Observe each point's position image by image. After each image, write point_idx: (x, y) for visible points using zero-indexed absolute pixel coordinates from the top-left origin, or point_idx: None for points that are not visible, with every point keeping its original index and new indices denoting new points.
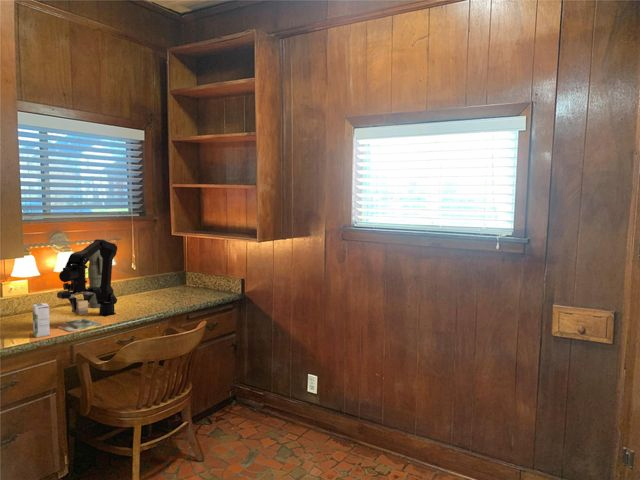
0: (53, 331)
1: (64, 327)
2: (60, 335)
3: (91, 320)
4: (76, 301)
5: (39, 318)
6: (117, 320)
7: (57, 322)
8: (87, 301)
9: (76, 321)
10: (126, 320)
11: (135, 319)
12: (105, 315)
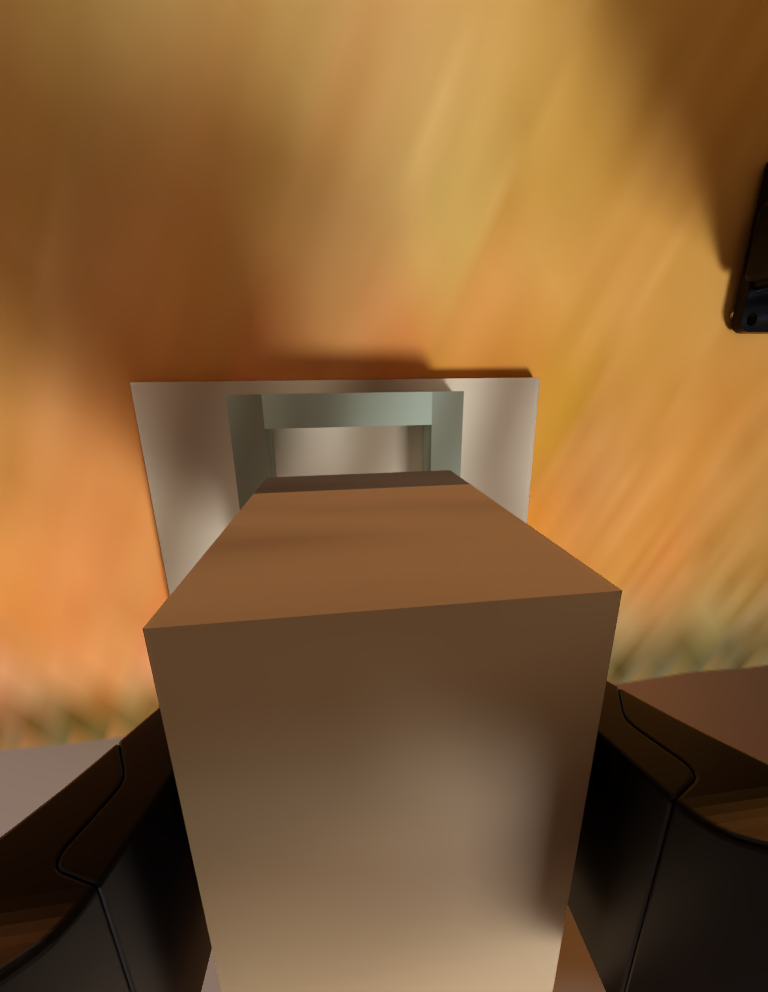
0: (54, 514)
1: (185, 491)
2: (82, 696)
3: (527, 425)
4: (246, 933)
5: None
6: (676, 578)
7: (215, 82)
8: (529, 984)
9: (356, 426)
10: (711, 632)
11: (765, 653)
12: (746, 331)
